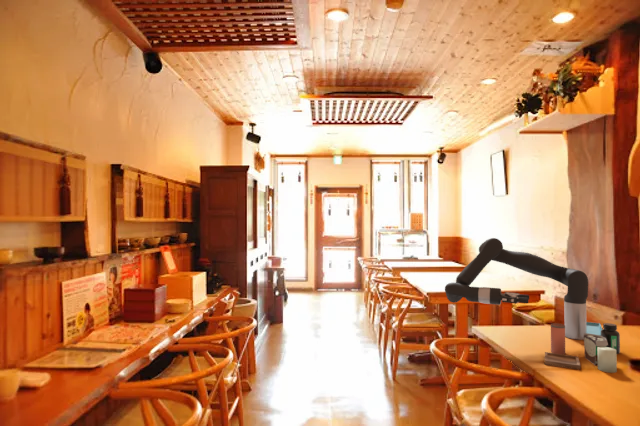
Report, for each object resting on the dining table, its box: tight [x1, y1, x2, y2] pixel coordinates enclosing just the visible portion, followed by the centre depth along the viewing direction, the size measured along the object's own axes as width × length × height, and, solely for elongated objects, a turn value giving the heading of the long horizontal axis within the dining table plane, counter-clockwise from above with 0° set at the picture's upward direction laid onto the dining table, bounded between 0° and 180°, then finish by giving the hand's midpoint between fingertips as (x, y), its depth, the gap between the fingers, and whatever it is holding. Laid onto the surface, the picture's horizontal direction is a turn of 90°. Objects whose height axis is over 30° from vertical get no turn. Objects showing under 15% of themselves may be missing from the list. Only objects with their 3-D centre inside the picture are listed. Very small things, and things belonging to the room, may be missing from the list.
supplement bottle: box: [601, 322, 621, 355], centre depth 179 cm, size 7×7×12 cm
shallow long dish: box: [586, 321, 603, 336], centre depth 212 cm, size 26×9×2 cm, turn 150°
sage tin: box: [597, 347, 618, 374], centre depth 157 cm, size 6×6×8 cm
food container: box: [583, 333, 608, 367], centre depth 166 cm, size 12×6×10 cm, turn 168°
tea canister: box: [550, 322, 566, 355], centre depth 178 cm, size 6×6×12 cm
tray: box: [544, 351, 581, 371], centre depth 165 cm, size 12×12×2 cm
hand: (528, 299), depth 182 cm, fingers open, 8 cm apart
